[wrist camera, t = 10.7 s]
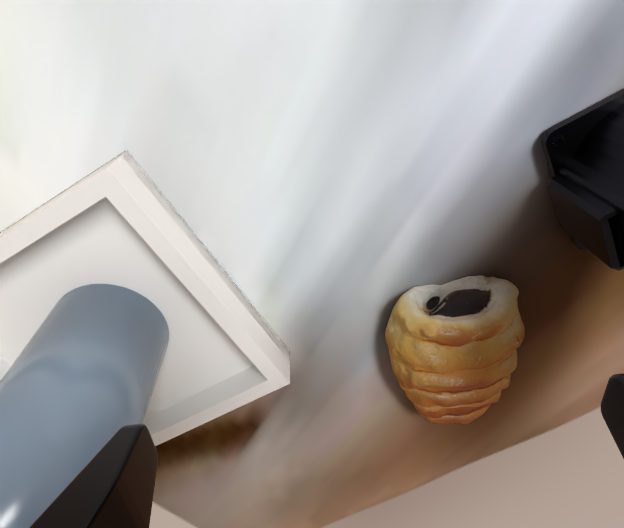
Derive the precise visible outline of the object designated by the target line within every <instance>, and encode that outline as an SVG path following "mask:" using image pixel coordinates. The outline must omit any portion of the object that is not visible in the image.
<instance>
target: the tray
mask: <svg viewBox="0 0 624 528" xmlns="http://www.w3.org/2000/svg"><path fill="white" fill-rule="evenodd" d="M89 284H112V285H117V286H122V287H125V288H128V289H131V290H133V291H135V292H137V293H139V294H141V295H143V296H144V297H146V298H147V299H148V300H150V301H151V302H152V303H153V304H154V305H155V306H156V307H157V308H158V309H159V310H160V311H161V313H162V314H163V316H164V317H165V319H166V322H167V324H168V328H169V343H168V347H167V350H166V353H165V356H164V359H163V362H162V365H161V368H160V372H159V375H158V378H157V381H156V384H155V387H154V390H153V393H152V396H151V400H150V403H149V406H148V409H147V412H146V415H145V418H144V421H143V424H145V425H146V426H147V428H148V430H149V433H150V435H151V438H152V440H153V442H154V445H155V446H157V445H159V444H161V443H163V442H165V441H168V440H170V439H172V438H174V437H176V436H178V435H180V434H183V433H185V432H187V431H189V430H191V429H193V428H195V427H198V426H200V425H202V424H204V423H206V422H208V421H211V420H213V419H215V418H217V417H219V416H221V415H223V414H226V413H228V412H230V411H232V410H234V409H236V408H239V407H241V406H243V405H245V404H247V403H249V402H251V401H254V400H256V399H258V398H260V397H262V396H264V395H266V394H269V393H271V392H273V391H275V390H277V389H279V388H282V387H284V386H286V385H288V384H290V351H289V350H288V349H287V348H286V346H285V345H284V344H283V343H282V341H281V340H280V339H279V338H278V337H277V335H276V334H275V333H274V332H273V330H272V329H271V328H270V327H269V325H268V324H267V323H266V322H265V321H264V319H263V318H262V317H261V316H260V314H259V313H258V312H257V311H256V309H255V308H254V307H253V306H252V304H251V303H250V302H249V301H248V300H247V298H246V297H245V296H244V295H243V293H242V292H241V291H240V290H239V288H238V287H237V286H236V285H235V283H234V282H233V281H232V280H231V279H230V277H229V276H228V275H227V274H226V272H225V271H224V270H223V269H222V267H221V266H220V265H219V264H218V262H217V261H216V260H215V259H214V258H213V256H212V255H211V254H210V253H209V251H208V250H207V249H206V248H205V246H204V245H203V244H202V243H201V241H200V240H199V239H198V238H197V237H196V235H195V234H194V233H193V232H192V230H191V229H190V228H189V227H188V225H187V224H186V223H185V222H184V220H183V219H182V218H181V217H180V216H179V214H178V213H177V212H176V211H175V209H174V208H173V207H172V206H171V204H170V203H169V202H168V201H167V200H166V198H165V197H164V196H163V195H162V193H161V192H160V191H159V190H158V188H157V187H156V186H155V185H154V183H153V182H152V181H151V180H150V179H149V177H148V176H147V175H146V174H145V172H144V171H143V170H142V169H141V167H140V166H139V165H138V164H137V162H136V161H135V160H134V159H133V158H132V156H131V155H130V154H129V153H128V151H127V150H126V151H124V152H123V153H121V154H120V155H118V156H117V157H115V158H114V159H112V160H110V161H109V162H107V163H106V164H104V165H103V166H101V167H100V168H98V169H97V170H95V171H94V172H92V173H91V174H89V175H88V176H86V177H84V178H83V179H81V180H80V181H78V182H77V183H75V184H74V185H72V186H71V187H69V188H68V189H66V190H65V191H63V192H62V193H60V194H58V195H57V196H55V197H54V198H52V199H51V200H49V201H48V202H46V203H45V204H43V205H42V206H40V207H39V208H37V209H36V210H34V211H32V212H31V213H29V214H28V215H26V216H25V217H23V218H22V219H20V220H19V221H17V222H16V223H14V224H13V225H11V226H10V227H8V228H7V229H5V230H3V231H2V232H0V381H1V379H2V378H3V376H4V375H5V374H6V372H7V371H8V370H9V368H10V367H11V365H12V364H13V363H14V361H15V360H16V358H17V357H18V356H19V354H20V353H21V352H22V350H23V349H24V347H25V346H26V345H27V343H28V342H29V341H30V339H31V338H32V336H33V335H34V334H35V332H36V331H37V330H38V328H39V327H40V325H41V324H42V323H43V321H44V320H45V318H46V317H47V316H48V314H49V313H50V312H51V310H52V309H53V307H54V306H55V305H56V303H57V302H58V301H59V299H60V298H61V297H62V296H63V295H65V294H66V293H68V292H69V291H71V290H73V289H75V288H78V287H81V286H84V285H89Z"/></svg>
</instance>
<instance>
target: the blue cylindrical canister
mask: <svg viewBox="0 0 624 528" xmlns="http://www.w3.org/2000/svg"><path fill="white" fill-rule="evenodd" d="M168 343H169V328H168V324H167V322H166V319H165V317H164V316H163V314H162V313H161V311H160V310H159V309H158V308H157V307H156V306H155V305H154V304H153V303H152V302H151V301H150V300H148V299H147V298H146V297H144V296H143V295H141V294H139V293H137V292H135V291H133V290H131V289H128V288H125V287H122V286H117V285H112V284H89V285H84V286H81V287H78V288H75V289H73V290H71V291H69V292H68V293H66V294H65V295H63V296H62V297H61V298H60V299H59V301H58V302H57V303H56V305H55V306H54V307H53V309H52V310H51V312H50V313H49V314H48V316H47V317H46V318H45V320H44V321H43V323H42V324H41V325H40V327H39V328H38V330H37V331H36V332H35V334H34V335H33V336H32V338H31V339H30V341H29V342H28V343H27V345H26V346H25V347H24V349H23V350H22V352H21V353H20V354H19V356H18V357H17V358H16V360H15V361H14V363H13V364H12V365H11V367H10V368H9V370H8V371H7V372H6V374H5V375H4V376H3V378H2V379H1V381H0V528H29V527H30V526H31V525H32V524H33V523H34V522H35V521H36V520H37V518H38V517H39V516H40V515H41V514H42V513H43V512H44V511H45V510H46V509H47V508H48V506H49V505H50V504H51V503H52V502H53V501H54V500H55V499H56V498H57V497H58V496H59V494H60V493H61V492H62V491H63V490H64V489H65V488H66V487H67V486H68V485H69V484H70V482H71V481H72V480H73V479H74V478H75V477H76V476H77V475H78V474H79V473H80V472H81V470H82V469H83V468H84V467H85V466H86V465H87V464H88V463H89V462H90V461H91V460H92V458H93V457H94V456H95V455H96V454H97V453H98V452H99V451H100V450H101V449H102V448H103V446H104V445H105V444H106V443H107V442H108V441H109V440H110V439H111V438H112V437H113V436H114V434H115V433H116V432H117V431H118V430H119V429H120V428H121V427H123V426H125V425H132V424H143V421H144V418H145V415H146V412H147V409H148V406H149V403H150V400H151V396H152V393H153V390H154V387H155V384H156V381H157V378H158V375H159V372H160V368H161V365H162V362H163V359H164V356H165V353H166V350H167V347H168Z"/></svg>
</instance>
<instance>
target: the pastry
mask: <svg viewBox="0 0 624 528" xmlns="http://www.w3.org/2000/svg"><path fill="white" fill-rule="evenodd" d="M518 295H519V290H518V289H517V287H516V286H515V285H514V284H512V283H511V282H509V281H507V280H505V279H497V278H495V277H484V276H482V275H479V276H467V277H464V278H461V279H457V280H453V281H450V282H448V283H445V284H443V285H436V284H430V285H422V286H416V287H413V288H411V289H410V290H408V291H407V292H406V293H404V294H403V295H402V296H401V297H400V298H399V300H398V301H397V303H396V304H395V306H394V308H393V310H392V313H391V316H390V318H389V321H388V324H387V327H386V331H385V340H386V343H387V345H388V348H389V355H390V358H391V366H392V371H393V373H394V374H395V375H396V378H397V380H398V383H399V385H400V387H401V388H402V389H403V390H404V392H405V394H406V397H407V398H408V399H410V400H411V401H412V402H413V404H414V406H415V409H416V411H417V412H418V413H419V414H420V415H421V416H422V417H424V418H425V420H427V421H429V422H432V423H453V422H458V423H461V424H468V423H470V422H471V421H473V420H475V419H477V418H479V417H480V416H481V415H483V414H484V413H485V411H486V410H487V409H488V408H489V406H490V405H491V404H493V403H496V402H498V401H499V398H500V395H501V390H504V389H506V388H507V387H508V386H509V384H510V374H511V373H512V372H513V371H514V370H515V369H516V366H517V361H518V357H517V351H516V348H518V347H519V346H520V345H521V344H522V342H523V340H524V336H525V327H524V324H523V322H522V319H521V316H520V314H519V311H518V303H517V297H518Z"/></svg>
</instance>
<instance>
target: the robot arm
mask: <svg viewBox="0 0 624 528" xmlns="http://www.w3.org/2000/svg"><path fill="white" fill-rule="evenodd" d="M556 135H559V139H558V141H557V142H556V143H554V144H552V139H553V138H554V137H555V136H556ZM541 143H542V147H543V150H544V153H545V157H546V160H547V163H548V166H549V169H550V173H551V176H552V178H550V180H549V183H548V188H549V191H550V194H551V197H552V200H553V203H554V207H555V210H556V213H557V216H558V219H559V222H560V225H561V227H562V228H563V229H565V230H566V231H567V232H568V233H569V234H570V237H571V240H572V242H573V244H574V245H576V246H577V247H578V248H580V249H589V250H590V251H591V252H592V253H593V254H595V255H596V256H597V257H598V258H599V259H601V260H602V261H603V262H604V263H605V264H607V265H608V266H609V267H610V268H612V269H616V270H622V269H624V89H622V90H620V91H619V92H617V93H615V94H613V95H611V96H609V97H607V98H605V99H604V100H602V101H600V102H598V103H596V104H594V105H592V106H590V107H588V108H587V109H585V110H583V111H581V112H579V113H577V114H575V115H573V116H571V117H570V118H568V119H566V120H564V121H562V122H560V123H558V124H556V125H554V126H553V127H551V128H549V129H548V130H546V131H545V133H544V134H543V136H542V139H541ZM601 412H602V416H603V418H604V420H605V422H606V424H607V426H608V428H609V430H610V432H611V434H612V436H613V438H614V440H615V442H616V444H617V446H618V448H619V450H620V452H621V454H622V456H623V458H624V374H615V375H613V376H611V377H610V379H609V381H608V384H607V387H606V390H605V393H604V396H603V399H602V402H601ZM157 462H158V456H157V450H156V447H155V445H154V442H153V440H152V438H151V435H150V433H149V430H148V428H147V426H146V425H145V424H132V425H125V426H123V427H121V428H120V429H119V430H118V431H117V432H116V433H115V434H114V436H113V437H112V438H111V439H110V440H109V441H108V442H107V443H106V444H105V445H104V446H103V448H102V449H101V450H100V451H99V452H98V453H97V454H96V455H95V456H94V457H93V458H92V460H91V461H90V462H89V463H88V464H87V465H86V466H85V467H84V468H83V469H82V470H81V472H80V473H79V474H78V475H77V476H76V477H75V478H74V479H73V480H72V481H71V482H70V484H69V485H68V486H67V487H66V488H65V489H64V490H63V491H62V492H61V493H60V494H59V496H58V497H57V498H56V499H55V500H54V501H53V502H52V503H51V504H50V505H49V506H48V508H47V509H46V510H45V511H44V512H43V513H42V514H41V515H40V516H39V517H38V518H37V520H36V521H35V522H34V523H33V524H32V525H31V526H30V527H29V528H149V523H150V516H151V508H152V501H153V493H154V485H155V478H156V470H157Z"/></svg>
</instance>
